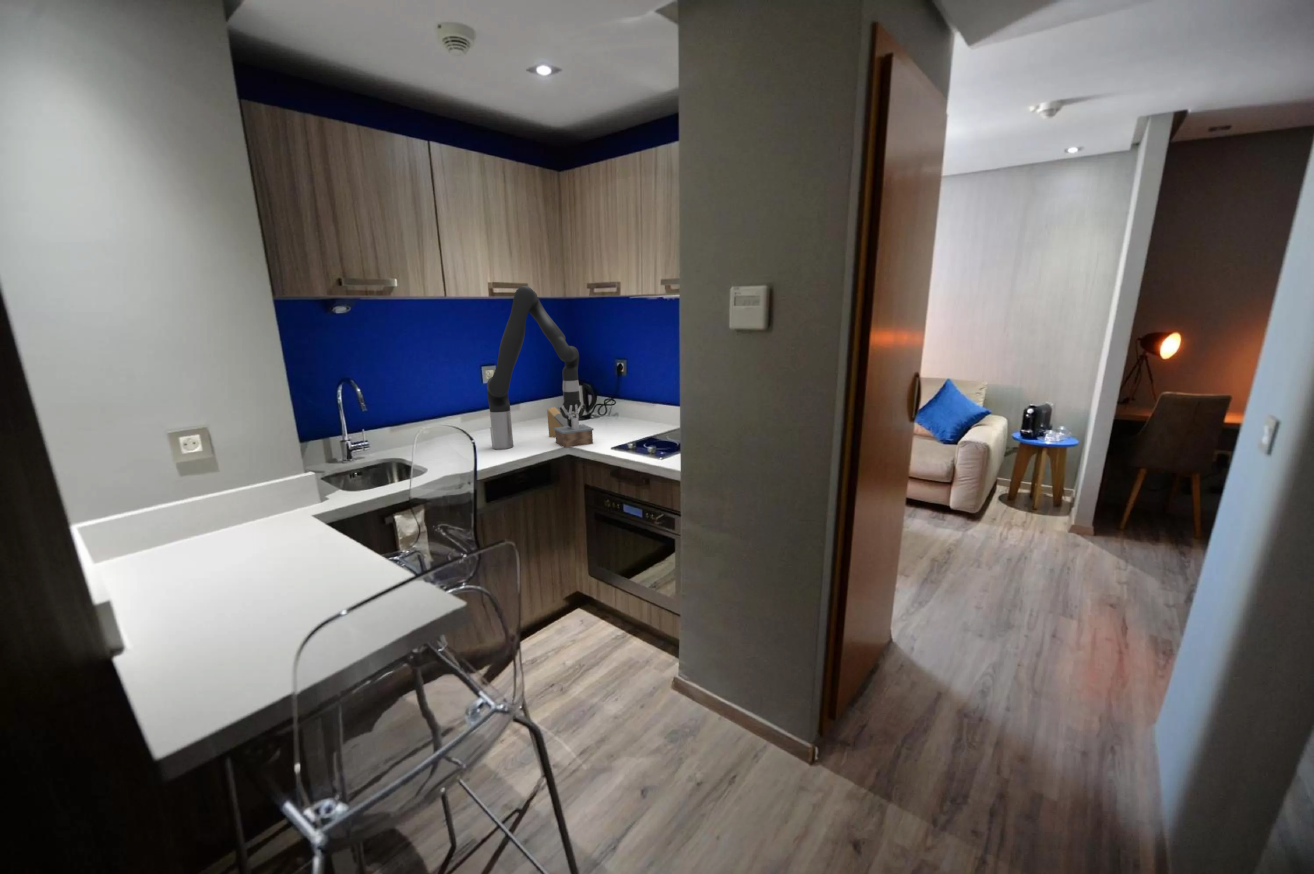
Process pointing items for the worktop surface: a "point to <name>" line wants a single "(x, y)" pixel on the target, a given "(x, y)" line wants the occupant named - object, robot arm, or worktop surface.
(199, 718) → the worktop surface
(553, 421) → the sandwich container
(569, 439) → the box
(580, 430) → the lid
